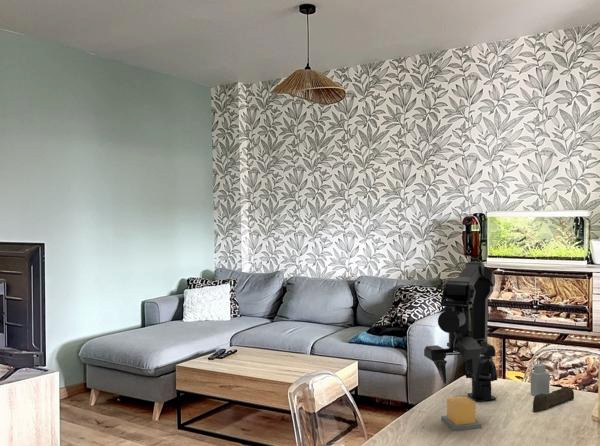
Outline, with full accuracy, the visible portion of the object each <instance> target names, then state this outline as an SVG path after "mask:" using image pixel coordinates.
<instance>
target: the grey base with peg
mask: <svg viewBox="0 0 600 446" xmlns="http://www.w3.org/2000/svg"><path fill="white" fill-rule="evenodd" d="M440 420H441V421H442V422H444V424H445V425H447V426H448V427H449V428H450V429H451V430H453V431H463V430H471V429H472V430H473V429H482V423H481V422H479V421H478V420H477V419H475V423H470V424H460V425H456V424H455V423H453V422H452V421H451V420H450V419H448V418H447V415H441V416H440Z"/></svg>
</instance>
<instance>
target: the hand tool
mask: <svg viewBox="0 0 600 446" xmlns="http://www.w3.org/2000/svg"><path fill="white" fill-rule="evenodd" d="M574 399H575V392H574V389H573V388H572V387H571V388H570V387H569V386H562V387H561V388H560V389H556V390H553V391H552V392H549V394H542V393H541V394H539V395H536V396H533V401H532V412H534V413H535V412H542V411H543V412H544V411H546V410H548V408H550V407H552V406H554V405H555V406H556V405H557V404H559V403H563V402H567V400H570V401H573V400H574Z"/></svg>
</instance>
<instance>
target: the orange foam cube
mask: <svg viewBox="0 0 600 446" xmlns="http://www.w3.org/2000/svg"><path fill="white" fill-rule="evenodd" d="M446 416H447V418H448V419H450V420H451V421H452V422H453V423H455V424H456V425H460V424H470V423H475V420H476V402H474V401H473V400H472V399H470V398H468V397H467V396H466V395H465V396H455V397H446Z"/></svg>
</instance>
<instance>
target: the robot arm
mask: <svg viewBox="0 0 600 446" xmlns="http://www.w3.org/2000/svg"><path fill="white" fill-rule="evenodd" d="M495 286H496V276H495V273H494V271H493V270H492V269H491V268H489V267H487V266H485V263H483V262H481V261H468V262H465V265H464V267H463V269H462V271H461V272H460V273H459V274H458V276H456V277H452V278H449V279H447V280H446V282H445V284H444V285H443V289H442V294H441V298H440V299H441V300H440V303H439V304H440V307H444V311H443V312H441V313H440V314H439V316H438V318H437V325H438V327H439V329H440V330H441V331H442V332H445V333H447V334H448V342H446V347H447V348H443V347H442V346H440V345H437V344H436V345H426V346H425V347H424V350H423V354H424V355H423V356H424V357H426V358H427V359H429V360H431V362H433V364H434V365H435V368H436V369H437V371H438V374H439V376H440V380H441V381H442V383H443V384H444V385H445V384H447V370H446V365H447V364H448V361H447V360H446V358H447V356H457V355H460V356H461V357H462V359H464V372H465V378H466V379H471V392H468V393H467V396H468V397H470V398H471V399H473V400H474V401H476V402H484V401H485V402H486V401H494V400H496V399H497V398H496V397H495V396H494V395H492V382H495V381H498V372H497V367H496V364H495V362H494V361H493V358H494V357H496V354H497V353H496V350H497V349H496V348H495V346H494V345H492V344H490V343H488V324H489V323H488V321H489V319H488V317H489V316H488V315H489V313H488V311H489V309H488V305H489V299H490V297H491V295H492V294H493V293H494V287H495ZM471 306H472V330H471Z"/></svg>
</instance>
